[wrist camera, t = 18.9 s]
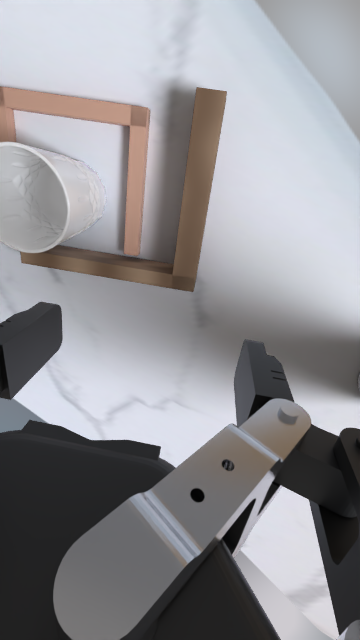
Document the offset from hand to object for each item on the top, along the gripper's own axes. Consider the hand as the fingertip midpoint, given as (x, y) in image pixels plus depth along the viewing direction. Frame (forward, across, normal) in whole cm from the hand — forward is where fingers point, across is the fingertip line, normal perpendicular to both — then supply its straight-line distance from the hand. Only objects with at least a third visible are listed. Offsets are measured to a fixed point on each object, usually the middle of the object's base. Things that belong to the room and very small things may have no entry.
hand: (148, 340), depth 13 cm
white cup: (+22, +13, -3) cm, 25 cm away
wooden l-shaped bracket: (+22, +8, -4) cm, 24 cm away
